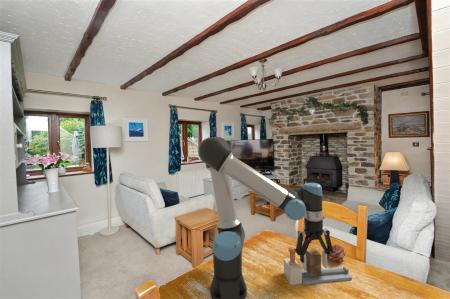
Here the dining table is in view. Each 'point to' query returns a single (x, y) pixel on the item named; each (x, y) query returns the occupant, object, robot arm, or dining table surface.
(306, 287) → the dining table surface
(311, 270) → the carriage
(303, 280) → the rail board
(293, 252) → the plunger
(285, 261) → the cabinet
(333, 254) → the flower
